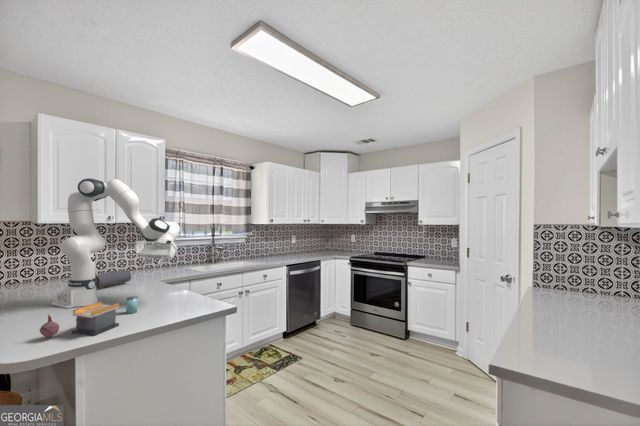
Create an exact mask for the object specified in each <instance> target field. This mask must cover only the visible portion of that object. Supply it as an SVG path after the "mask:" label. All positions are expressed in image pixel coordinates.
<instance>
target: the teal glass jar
mask: <svg viewBox="0 0 640 426" xmlns="http://www.w3.org/2000/svg"><path fill="white" fill-rule="evenodd" d="M138 299H139V298H138V296H137V295H133V296H132V295H131V296H127V297H126V299H125V300H126V301H125V303H126V304H125V314H127V315H134V314H136V313H138Z"/></svg>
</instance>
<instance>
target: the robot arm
mask: <svg viewBox="0 0 640 426" xmlns="http://www.w3.org/2000/svg"><path fill="white" fill-rule="evenodd" d="M107 197H109V198H111V200H112V201H114V202H115V203H116V204H117V206H119V208H121V209H122V211H123V212H124V214H125V216H126V217H127V218H128V219H129V220H130V222H131V223H132V224H133V225H134V226H135V227H136V228H137V229H138V231H139V232H140V235H141V236H142V239H144V240H145V241H147V242H153V244H152V243H149V244H148V245H146V246H144V247H143V248H142V249H141V251H139V257H141V258H142V261H141V263H142V264H143V265H144V264H145V265H146V263H147V259H158V260H156V262H155V263H156V265H161V264H162V263H163V262H165V261H166V260H171V259H173V258H174V256H175V255H176V252H177V251H178V247H177V245H176V243H175V240H176V239H177V237H178V236H179V234H180V232H181V227H180V225H179V223H177V222H175V221H167V220H163V219H161V218H158V217H156V218H152V219H151V220H149V222H148V221H146V219H145V218H144V217H143V215H141V213H140V209H139V207H140V206H139V204H140V199H139V197H138V196H137V193H135V192H134V190H133V189H132V188H131V187H129V186H128V185H127V184H126V183H124V182H123V181H121V180H119V178H118V179H116V178H113V179H109V180H108V181H106V182H105V181H101V180H99V179H95V178H83V179H82V180H80V181H79V182H78V184H77V191H76V192H73V193H70V194H69V196H68V199H67V215H68V224H69V227H70V228H72V229H73V230H74V232H75V233H76V235H75V236H71V237H68V238H66V239H63V240H62V242H61V243H60V246H59V248H60V251H61V253H62V254H63V255H65V256H66V257H67V259H68V261H69V264H70V279H69V280H68V279H67V281H66V284H67V286H65V288H64V289H61V291H59V292H58V293H57V296H56V300H54V301H52V302H51V303H50V305H51V306H56V307H59V308H63V309H68V308H76V307H77V308H80V307H84V306H87V305H91V304H94V303H97V302H99V296H98V292H97V291H98V288H96V286H95V284H96V277H95V276H96V271H97V270H96V269H97V265H96V263H95V262H94V261H92V258H91V254H95V253H97V252H100V251H102V250H103V249H104V248H105V246H106V239H105V238H104V237H103V236H102V235H101V234H100V233H99V231H98V229H97V227H96V224H95V220H94V212H93V211H94V210H93V202H96V201H99V200H103V199H105V198H107Z"/></svg>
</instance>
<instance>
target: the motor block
mask: <svg viewBox="0 0 640 426" xmlns="http://www.w3.org/2000/svg"><path fill="white" fill-rule="evenodd" d="M119 308H120V303H118V302H116V303H114V304H113V303H112V304H103V301H101V300H100V301H98V302H96V303H94V304H91V305H86V306H80V307H77V308H75V309H73V310H72V316H73V317H76V318H75V319H76V320H75V323H76V324H75V326H76V328H74V329H72V330H71V333H72V334H76V335H78V334H79V335H86V336H94V337H95V336H98V335H102V333H105V332H108V331H110V330H112V329H115V328H116V327H119V326H120V323H119V322H116V321H117V320H116V319H117V318H116V316H117V315H116V313H117V309H119Z"/></svg>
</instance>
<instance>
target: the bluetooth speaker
mask: <svg viewBox="0 0 640 426" xmlns="http://www.w3.org/2000/svg"><path fill="white" fill-rule="evenodd" d="M95 277H96V284H95V286H96V289H101V288H104V289H108V288H113V287H114V288H115V287H117V286H118V287H119V286H120V285H121V284H124V283H127V282H131V280H132V273H131V271H130V270H126V269H125V270H117V271H112V272H106V273H102V274H101V273H100V274H97V275H96V274H95Z"/></svg>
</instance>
